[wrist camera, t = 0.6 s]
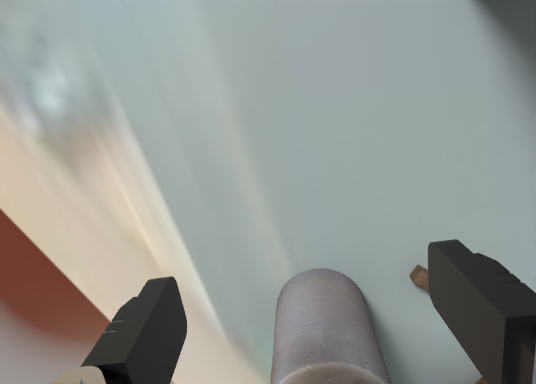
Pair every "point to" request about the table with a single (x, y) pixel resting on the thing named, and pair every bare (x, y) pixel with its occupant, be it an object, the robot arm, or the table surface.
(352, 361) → the pillar candle
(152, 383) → the robot arm
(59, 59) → the table surface
